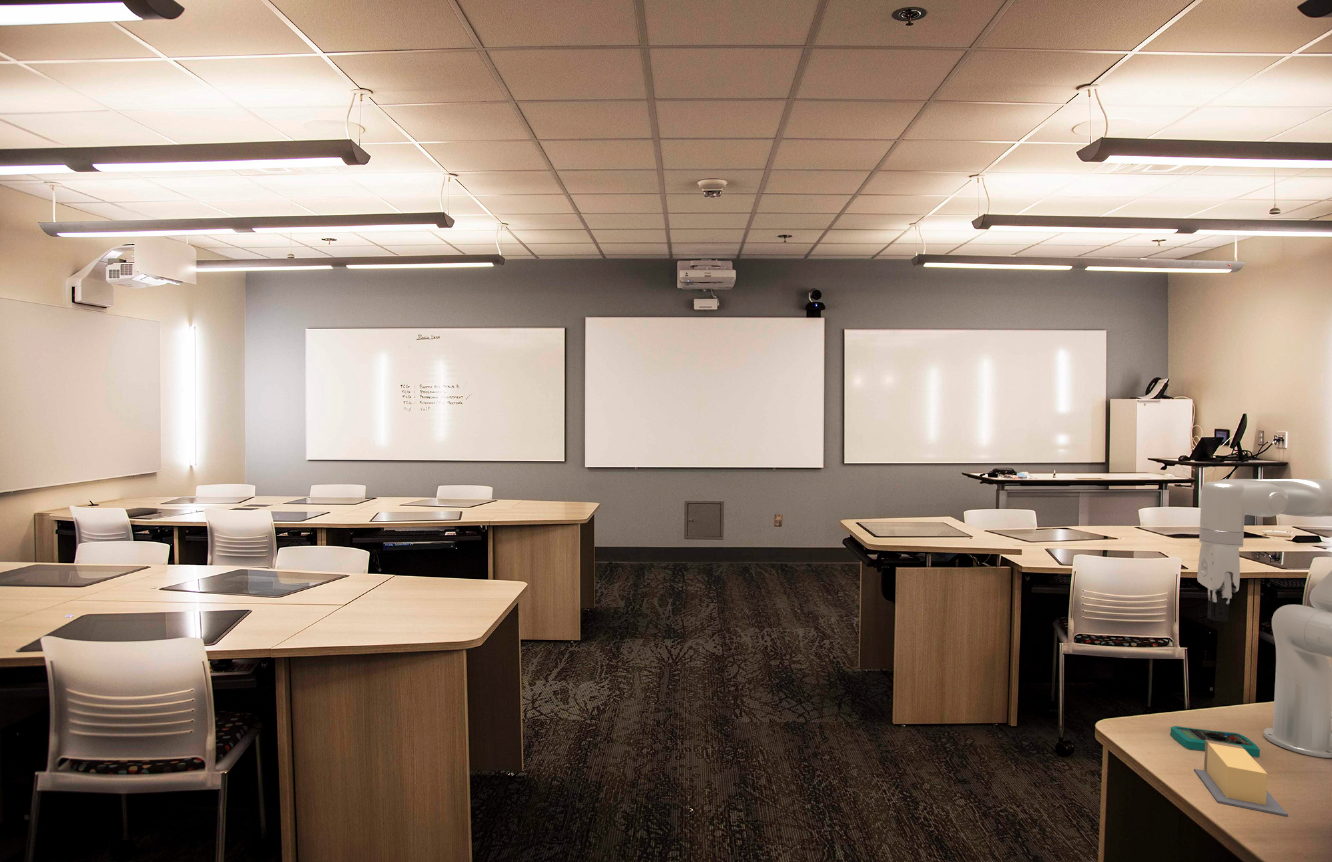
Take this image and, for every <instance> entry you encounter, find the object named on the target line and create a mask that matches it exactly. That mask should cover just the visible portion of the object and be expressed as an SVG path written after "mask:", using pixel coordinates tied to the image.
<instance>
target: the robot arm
mask: <svg viewBox="0 0 1332 862" xmlns="http://www.w3.org/2000/svg"><path fill="white" fill-rule="evenodd" d="M1200 495H1201V496H1200V518H1199V538H1198V539H1199V540H1198V542H1199V543H1201V545H1200V549H1199V555H1198V556H1199V557H1198V566H1197V574H1196V576H1197V577H1196V578H1197V579H1196V580H1197V582H1198V583H1200V585H1202V586H1204V587H1205V588H1207V598H1208V600H1207V618H1208V619H1210V621H1216V622H1217V621H1218V622H1223V623H1224V622H1225V623H1227V622H1228V621H1229V608H1230V599H1232V597H1233V594H1232V593H1236V592H1238V591H1239V588H1240V580H1241V579H1240V577H1241V574H1240V573H1241V572H1240V569H1241V567H1240V566H1241V565H1240V563H1241V562H1240V561H1241V559H1240V548H1243V547H1244V536H1245V532H1244V531H1245V516H1254V517H1260V518H1261V517H1262V518H1272V517H1275V516H1276V517H1277V516H1278V515H1286V516H1292V517H1293V516H1295V517H1307V518H1308V517H1309V518H1314V517H1316V518H1317V517H1318V518H1319V517H1320V518H1321V517H1332V478H1331V479H1329V478H1326V479H1325V478H1321V479H1320V478H1319V479H1315V478H1280V479H1261V478H1260V479H1259V478H1256V479H1255V478H1226V479H1225V478H1223V479H1219V480H1217V481H1207V482H1205V483H1202V486H1201V489H1200ZM1309 603H1310V604H1311V606H1312V607H1311V606H1308V605H1302V604H1286V605H1282V606H1280V607H1279V608H1277V609H1276V610H1275V611H1274V612H1273V616H1272V618H1271V629H1272V634H1273V639H1274V643H1275V680H1274V681H1275V682H1274V698H1273V699H1274V701H1273V703H1274V705H1273V726H1272V727H1266V728H1265V729H1264V730H1263V736H1264V737H1265V738H1266V740H1267V741H1269V742H1271V743H1272V744H1274V745H1277V746H1279V747H1281V748H1283V749H1285V750H1289V751H1291V752H1295V753H1298V754H1302V755H1306V756H1309V757H1317V758H1325V759H1327V758H1328V759H1329V758H1331V759H1332V664H1331V662H1330V660H1329V658H1332V570H1331V571H1330V572H1329V573H1328V574H1326V575H1325V576H1324V577H1323V578H1322V579H1321V580H1320V581H1319V582H1318V583H1317V584H1316V585H1315V586H1314V587H1313V588H1312V590H1311V591H1310V593H1309Z"/></svg>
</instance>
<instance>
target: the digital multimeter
mask: <svg viewBox="0 0 1332 862" xmlns="http://www.w3.org/2000/svg"><path fill="white" fill-rule="evenodd" d="M1169 735H1170V736H1171V737H1172V738H1173V739H1174V740H1175V741H1176V742H1177V743H1179V745H1181V746H1183V748H1185V749H1187V750H1193V751H1202V752H1205V740H1210V741H1215V742H1221V743H1227V744H1233V745H1239V746H1242V747H1243V748H1244V749H1245V750H1246V751H1247V752H1248V754H1249V755H1250V756H1251V757H1252V758H1260V754H1261V751H1260V750H1261V749H1260V748H1259V746H1258V745H1256V744H1255V742H1253V741H1252V740H1251V739H1249V738H1248V737H1246V736H1245V735H1243V734H1241V733H1239V732H1230V731H1220V730H1209V729H1202V728H1191V727H1186V726H1177V725H1174V726H1173V725H1172V726H1170V734H1169Z"/></svg>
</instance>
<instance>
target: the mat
mask: <svg viewBox="0 0 1332 862" xmlns="http://www.w3.org/2000/svg"><path fill="white" fill-rule="evenodd" d="M1193 772H1195V773H1196V775H1197V776H1198V777H1199V779H1200V780H1201V782H1202V783H1203V784H1204V786H1205V787H1206V789H1207V790H1208V791H1209V793H1210V794H1211V796H1212V797H1213V798H1214V800H1215V801H1216V802H1217V803H1218V804H1222V805H1223V804H1224V805H1227V806H1228V805H1229V806H1233V807H1237V808H1238V807H1239V808H1243V809H1247V810H1253V811H1258V812H1264V813H1267V814H1272V815H1279V816H1282V817H1287V818H1288V817H1289V814H1288V813H1287V811H1286V810H1285V809H1284V808H1283V807H1282V806H1281V805H1280V804H1279V802H1277V800H1276V799H1275V798H1274V797H1273V796H1272V795H1271V793H1270V792H1269V791H1268V790H1267V794H1266V805H1262V804H1257V803H1252V802H1247V801H1242V800H1237V799H1232V798H1227V797H1226V796H1225V795H1224V794H1223V792H1222V791H1221V790H1220V788H1219V787H1218V786H1217V784H1216V783H1215V782H1214V780H1213V779H1212V778H1211V777H1210V775H1209V774H1208V773H1207V771H1206V770H1205V769H1204V770H1203V769H1200V768H1199V769H1198V768H1194V769H1193Z"/></svg>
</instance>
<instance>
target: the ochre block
mask: <svg viewBox="0 0 1332 862" xmlns="http://www.w3.org/2000/svg"><path fill="white" fill-rule="evenodd" d="M1203 764H1204V765H1203V768H1204V770H1205V771H1207V773H1208V774H1209V775H1210V777H1211V778H1212V779H1213V780H1214V782H1215V783H1216V784H1217V786H1218V787H1219V788H1220V790H1221V791H1222V792H1223V794H1224V795H1225V796H1226V797H1227V798H1232V799H1237V800H1242V801H1247V802H1252V803H1257V804H1262V805H1266V794H1267V791H1268V772H1266V770H1264V768H1263V767H1262V766H1261V765H1260V764H1259V763H1258V762H1257V761H1256V759H1254V757H1252V756H1250V755H1249V754H1248V752H1247V751H1246V750H1245V749H1244V748H1243V747H1242V746H1239V745H1233V744H1227V743H1221V742H1215V741H1210V740H1205V751H1204V763H1203Z"/></svg>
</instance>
